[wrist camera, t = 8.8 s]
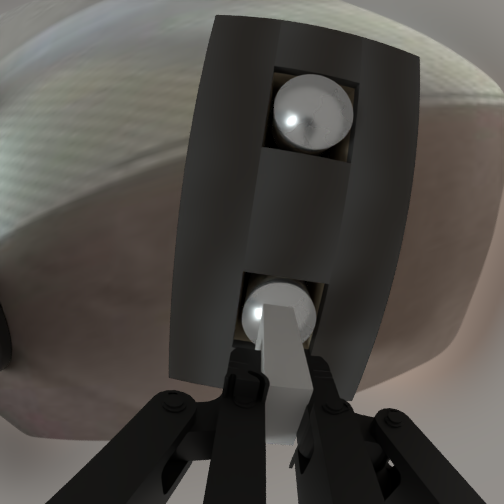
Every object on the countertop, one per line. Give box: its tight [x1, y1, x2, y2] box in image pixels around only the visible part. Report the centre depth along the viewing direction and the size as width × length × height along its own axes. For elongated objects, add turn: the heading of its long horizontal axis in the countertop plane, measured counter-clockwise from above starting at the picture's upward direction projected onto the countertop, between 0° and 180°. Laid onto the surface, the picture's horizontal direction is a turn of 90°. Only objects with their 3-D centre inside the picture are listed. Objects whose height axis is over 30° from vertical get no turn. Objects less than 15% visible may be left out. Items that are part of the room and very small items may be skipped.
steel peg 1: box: [272, 74, 353, 156], centre depth 16 cm, size 4×4×6 cm
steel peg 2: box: [242, 273, 316, 345], centre depth 18 cm, size 4×4×6 cm
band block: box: [169, 15, 420, 401], centre depth 18 cm, size 12×22×6 cm, turn 171°
